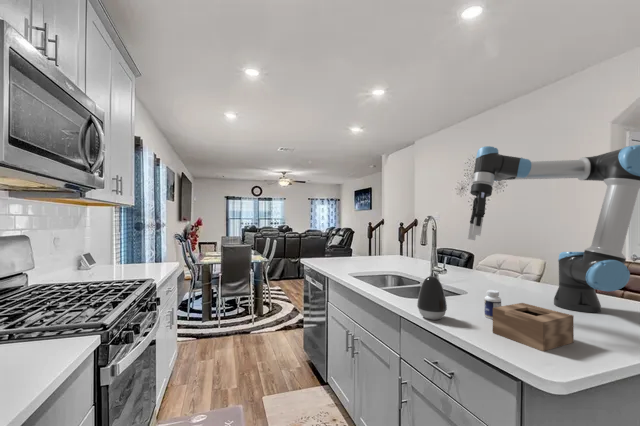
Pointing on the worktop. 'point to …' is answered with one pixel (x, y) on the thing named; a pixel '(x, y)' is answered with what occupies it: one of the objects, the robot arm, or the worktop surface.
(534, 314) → the drop box
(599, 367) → the worktop surface
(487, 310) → the pill bottle
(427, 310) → the dark grey egg speaker
